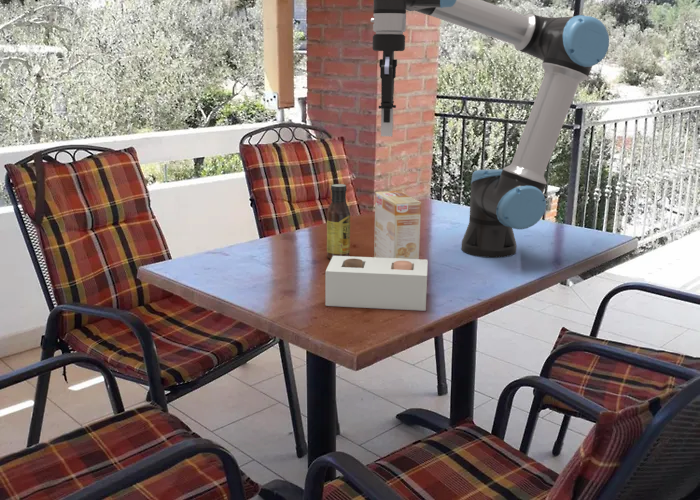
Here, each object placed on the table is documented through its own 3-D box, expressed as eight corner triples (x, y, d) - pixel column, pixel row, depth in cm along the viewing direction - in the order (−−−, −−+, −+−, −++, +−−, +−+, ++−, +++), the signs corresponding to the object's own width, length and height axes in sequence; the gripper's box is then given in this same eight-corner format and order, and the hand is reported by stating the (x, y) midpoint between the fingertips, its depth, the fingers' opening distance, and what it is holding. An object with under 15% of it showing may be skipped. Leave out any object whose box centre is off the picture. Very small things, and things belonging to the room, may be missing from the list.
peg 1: (362, 292, 163) (363, 258, 161) (361, 298, 159) (361, 264, 157) (345, 291, 163) (345, 258, 161) (343, 297, 160) (343, 263, 157)
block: (426, 292, 165) (427, 259, 163) (425, 310, 154) (427, 275, 152) (332, 288, 168) (333, 255, 166) (325, 305, 156) (325, 271, 154)
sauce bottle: (347, 261, 188) (347, 188, 183) (324, 260, 189) (324, 187, 184) (352, 255, 194) (352, 183, 189) (329, 253, 196) (329, 182, 190)
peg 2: (410, 294, 162) (411, 261, 160) (410, 300, 158) (411, 266, 156) (393, 293, 162) (394, 260, 160) (392, 299, 158) (393, 265, 156)
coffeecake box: (419, 279, 175) (422, 201, 169) (392, 281, 173) (394, 203, 167) (398, 262, 189) (400, 189, 183) (372, 264, 187) (374, 191, 181)
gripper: (375, 33, 171) (373, 132, 177) (370, 32, 158) (368, 139, 165) (406, 34, 170) (403, 133, 176) (404, 33, 157) (401, 139, 164)
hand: (386, 135), depth 170 cm, fingers closed
